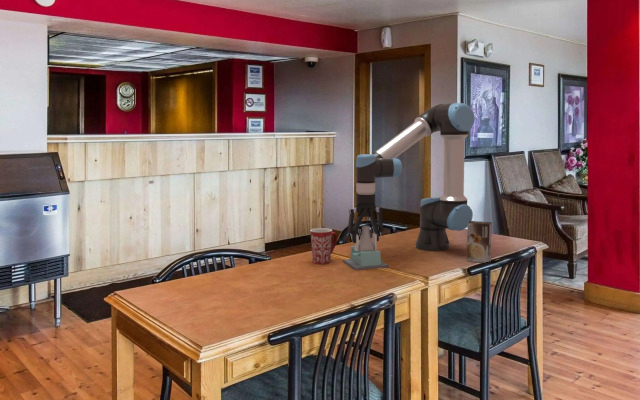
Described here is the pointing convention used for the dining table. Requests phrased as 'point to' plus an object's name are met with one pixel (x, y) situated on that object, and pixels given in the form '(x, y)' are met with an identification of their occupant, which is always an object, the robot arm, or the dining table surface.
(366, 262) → the display stand
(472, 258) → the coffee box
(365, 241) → the flask
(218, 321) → the dining table surface
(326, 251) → the mug
